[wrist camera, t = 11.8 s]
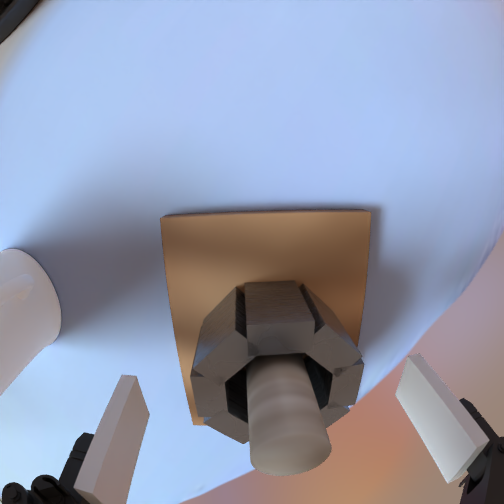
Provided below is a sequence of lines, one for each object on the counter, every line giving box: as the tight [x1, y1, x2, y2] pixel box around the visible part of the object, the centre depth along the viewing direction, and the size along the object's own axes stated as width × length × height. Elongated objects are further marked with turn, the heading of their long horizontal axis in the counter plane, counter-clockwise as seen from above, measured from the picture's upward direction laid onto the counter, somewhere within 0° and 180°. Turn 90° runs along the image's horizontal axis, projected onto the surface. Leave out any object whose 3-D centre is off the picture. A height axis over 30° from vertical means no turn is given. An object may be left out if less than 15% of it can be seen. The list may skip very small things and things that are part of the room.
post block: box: [160, 210, 371, 476], centre depth 14 cm, size 16×12×10 cm
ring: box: [190, 280, 364, 444], centre depth 16 cm, size 8×8×5 cm
